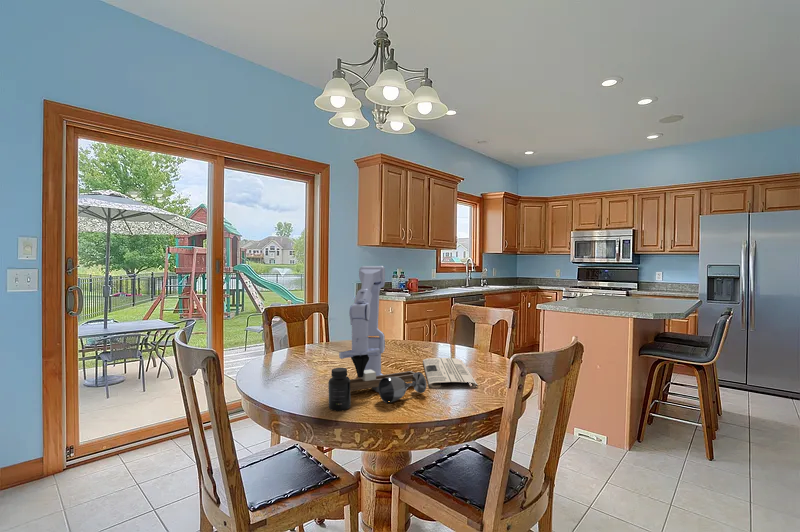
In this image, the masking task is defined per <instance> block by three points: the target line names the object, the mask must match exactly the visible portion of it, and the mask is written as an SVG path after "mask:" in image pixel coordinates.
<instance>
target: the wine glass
mask: <svg viewBox="0 0 800 532" xmlns="http://www.w3.org/2000/svg"><path fill="white" fill-rule="evenodd" d="M427 385H428V382H427V378H426V377H425V375H424V374H423V373H422V372H419V371H416V372H415V374H414V375H413V378H412V382H404V381H403V380H402V379H401V378H399V377H386V378H382V379H381V380H380V382H379V386H378V390H379V392H378V394H379V397H380V399H381V400H382V401H383V402H384V403H386V404H389V403H394V402H396V401H399V400H401V398H403V397H404V396H405V394H406V391H407V389H408V388H410V387H413V389H414V391H415V392H417V393H418V394H423V393H424V392H425V391H426V389H427ZM388 401H390V402H388Z"/></svg>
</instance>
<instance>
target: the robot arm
mask: <svg viewBox="0 0 800 532" xmlns="http://www.w3.org/2000/svg"><path fill="white" fill-rule="evenodd" d="M358 276H359V277H358V278H359V280H360V283H361V286H360V287H361V288H360V289H358V291H357V292H356V296H355V299H354V302H353V304H352V305H351V304H350V306H349V320H350V322H349V323H350V326H351V349H350V350H345V351H339V353H338V356H339V359H341V360H344V359H347V358H350V359H351V361H352V363H353V365H354V368H355V371H356V376H357V378H362V377H363V373H364V370H370V369H371V370H373V371H375V372H376V376H379V375H384V374H383V373H382V354H383V353H384V352H385V350H386V348H385V347H386V340H385V334H384V332H383V331H381V330H380V329H379V313H380V312H379V310H380V309H379V308H380V307H379V306H380V292H381V289H382V288H384V287H385V284H386V268H385V266H383V265H361V266H360V267H359V269H358Z"/></svg>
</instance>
